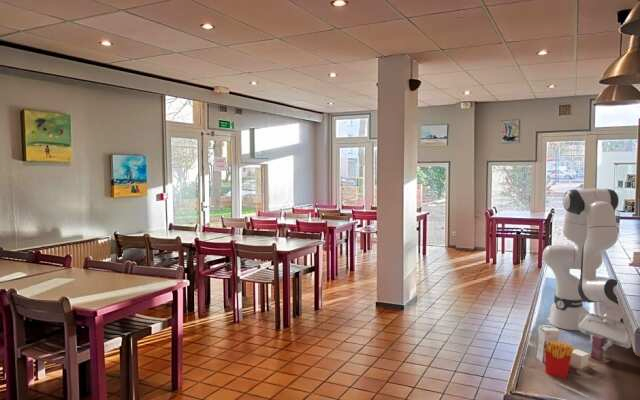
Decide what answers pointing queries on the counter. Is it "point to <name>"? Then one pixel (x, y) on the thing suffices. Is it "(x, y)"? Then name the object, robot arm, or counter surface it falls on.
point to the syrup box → (545, 340)
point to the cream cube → (579, 359)
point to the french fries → (558, 359)
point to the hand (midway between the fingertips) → (596, 347)
